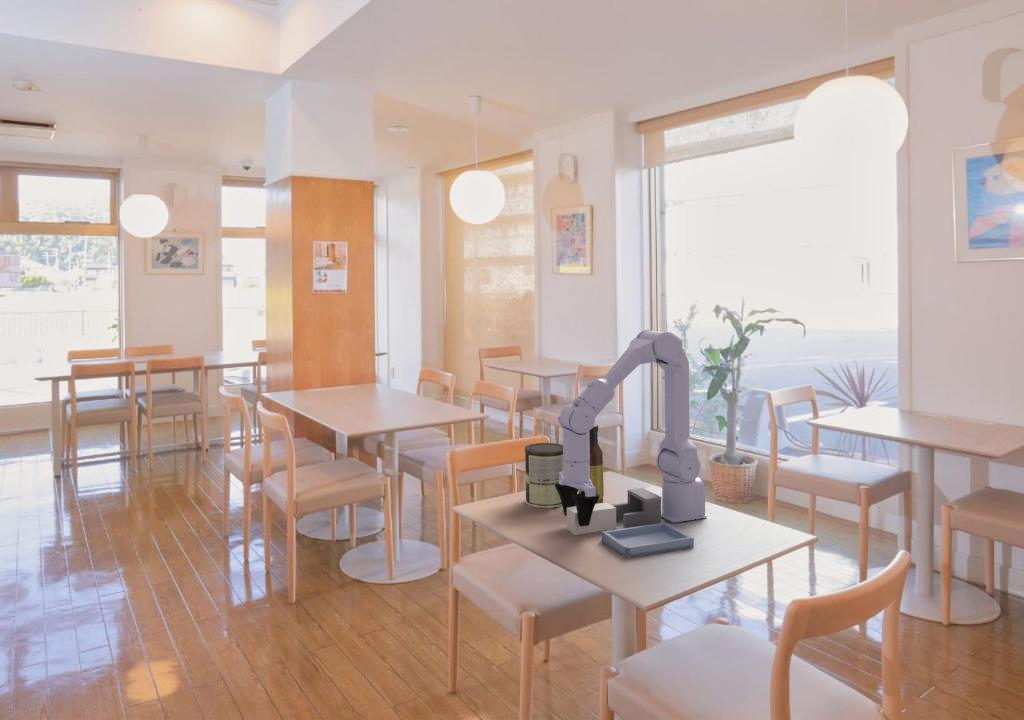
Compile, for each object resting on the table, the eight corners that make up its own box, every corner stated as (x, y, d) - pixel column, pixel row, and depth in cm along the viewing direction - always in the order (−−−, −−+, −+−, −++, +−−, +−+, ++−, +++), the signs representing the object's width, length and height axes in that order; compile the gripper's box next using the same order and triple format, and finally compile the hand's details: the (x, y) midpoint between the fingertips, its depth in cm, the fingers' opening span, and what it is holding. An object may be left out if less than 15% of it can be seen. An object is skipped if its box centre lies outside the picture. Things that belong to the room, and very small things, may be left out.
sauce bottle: (586, 498, 183) (586, 421, 181) (608, 502, 180) (608, 423, 178) (573, 504, 178) (572, 425, 176) (595, 508, 174) (595, 427, 172)
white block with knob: (606, 523, 164) (606, 499, 163) (616, 529, 160) (616, 505, 159) (566, 529, 160) (566, 504, 160) (575, 535, 156) (575, 510, 156)
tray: (665, 531, 158) (665, 522, 158) (693, 547, 148) (693, 537, 148) (601, 540, 152) (601, 531, 152) (626, 558, 143) (626, 548, 142)
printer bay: (642, 515, 169) (642, 487, 168) (661, 525, 162) (661, 497, 161) (608, 519, 166) (608, 492, 165) (625, 530, 159) (625, 501, 158)
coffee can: (517, 501, 182) (516, 446, 180) (550, 494, 187) (550, 440, 186) (540, 511, 173) (540, 453, 172) (574, 504, 178) (574, 448, 177)
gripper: (546, 454, 163) (546, 512, 164) (573, 469, 149) (574, 532, 150) (574, 451, 165) (575, 509, 166) (604, 465, 151) (604, 528, 153)
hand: (576, 520), depth 159 cm, fingers open, 7 cm apart
